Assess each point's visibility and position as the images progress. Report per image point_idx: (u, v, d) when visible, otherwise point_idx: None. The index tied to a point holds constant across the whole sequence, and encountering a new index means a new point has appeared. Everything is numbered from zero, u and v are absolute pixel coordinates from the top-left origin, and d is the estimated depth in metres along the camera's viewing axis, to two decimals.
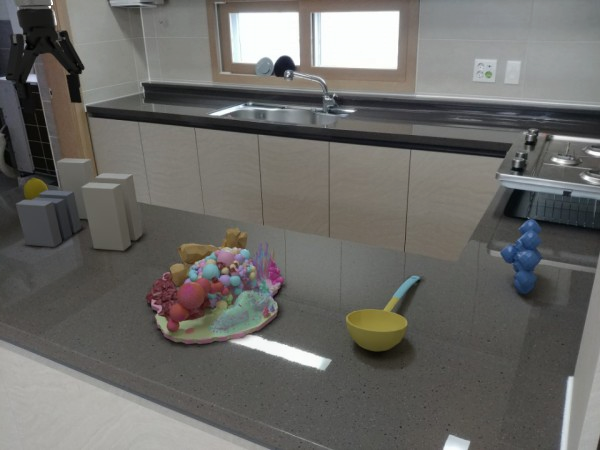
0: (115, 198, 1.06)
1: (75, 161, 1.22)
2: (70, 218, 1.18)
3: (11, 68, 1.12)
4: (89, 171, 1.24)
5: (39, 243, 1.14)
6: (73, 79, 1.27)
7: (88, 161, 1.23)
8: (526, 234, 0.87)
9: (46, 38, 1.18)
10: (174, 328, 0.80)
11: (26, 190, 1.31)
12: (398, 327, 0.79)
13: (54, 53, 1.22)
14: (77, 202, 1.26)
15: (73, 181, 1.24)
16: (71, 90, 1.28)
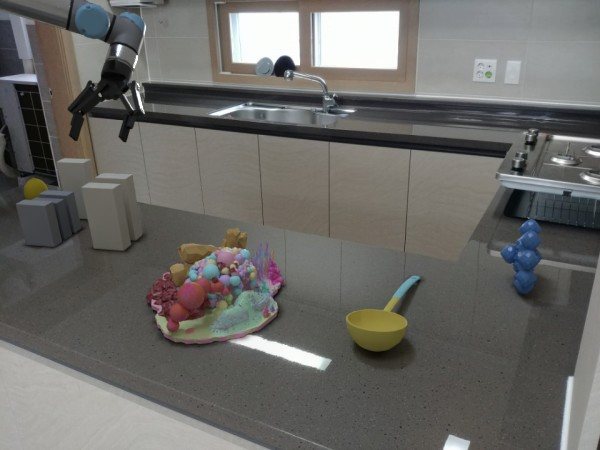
0: (115, 198, 1.06)
1: (75, 161, 1.22)
2: (70, 218, 1.18)
3: (141, 106, 1.33)
4: (89, 171, 1.24)
5: (39, 243, 1.14)
6: (82, 120, 1.36)
7: (88, 161, 1.23)
8: (526, 234, 0.87)
9: None
10: (174, 328, 0.80)
11: (26, 190, 1.31)
12: (398, 327, 0.79)
13: (97, 98, 1.36)
14: (77, 202, 1.26)
15: (73, 181, 1.24)
16: (76, 127, 1.34)
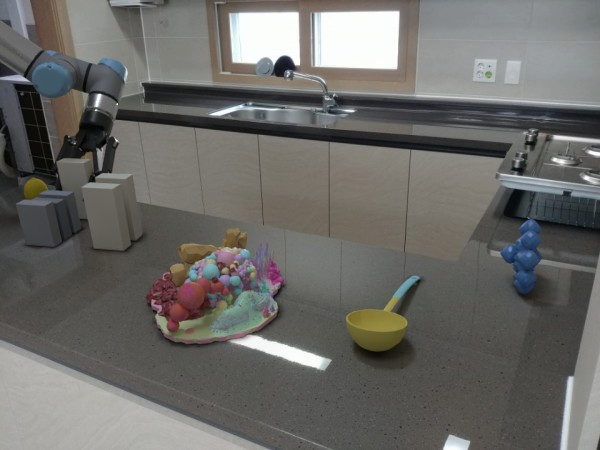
0: (115, 198, 1.06)
1: (75, 161, 1.22)
2: (70, 218, 1.18)
3: (110, 166, 1.26)
4: (89, 171, 1.24)
5: (39, 243, 1.14)
6: None
7: (88, 161, 1.23)
8: (526, 234, 0.87)
9: None
10: (174, 328, 0.80)
11: (26, 190, 1.31)
12: (398, 327, 0.79)
13: (79, 152, 1.28)
14: (77, 202, 1.26)
15: (73, 181, 1.24)
16: (61, 189, 1.25)
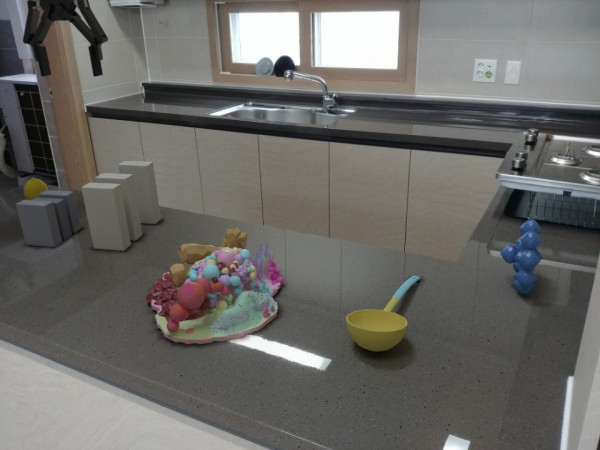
0: (115, 198, 1.06)
1: (138, 164, 1.19)
2: (70, 218, 1.18)
3: (100, 30, 1.19)
4: (151, 174, 1.20)
5: (39, 243, 1.14)
6: (44, 50, 1.24)
7: (151, 164, 1.20)
8: (526, 234, 0.87)
9: None
10: (174, 328, 0.80)
11: (26, 190, 1.31)
12: (398, 327, 0.79)
13: (48, 22, 1.20)
14: (138, 206, 1.22)
15: (134, 185, 1.20)
16: (43, 63, 1.24)
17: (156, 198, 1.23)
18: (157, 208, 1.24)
